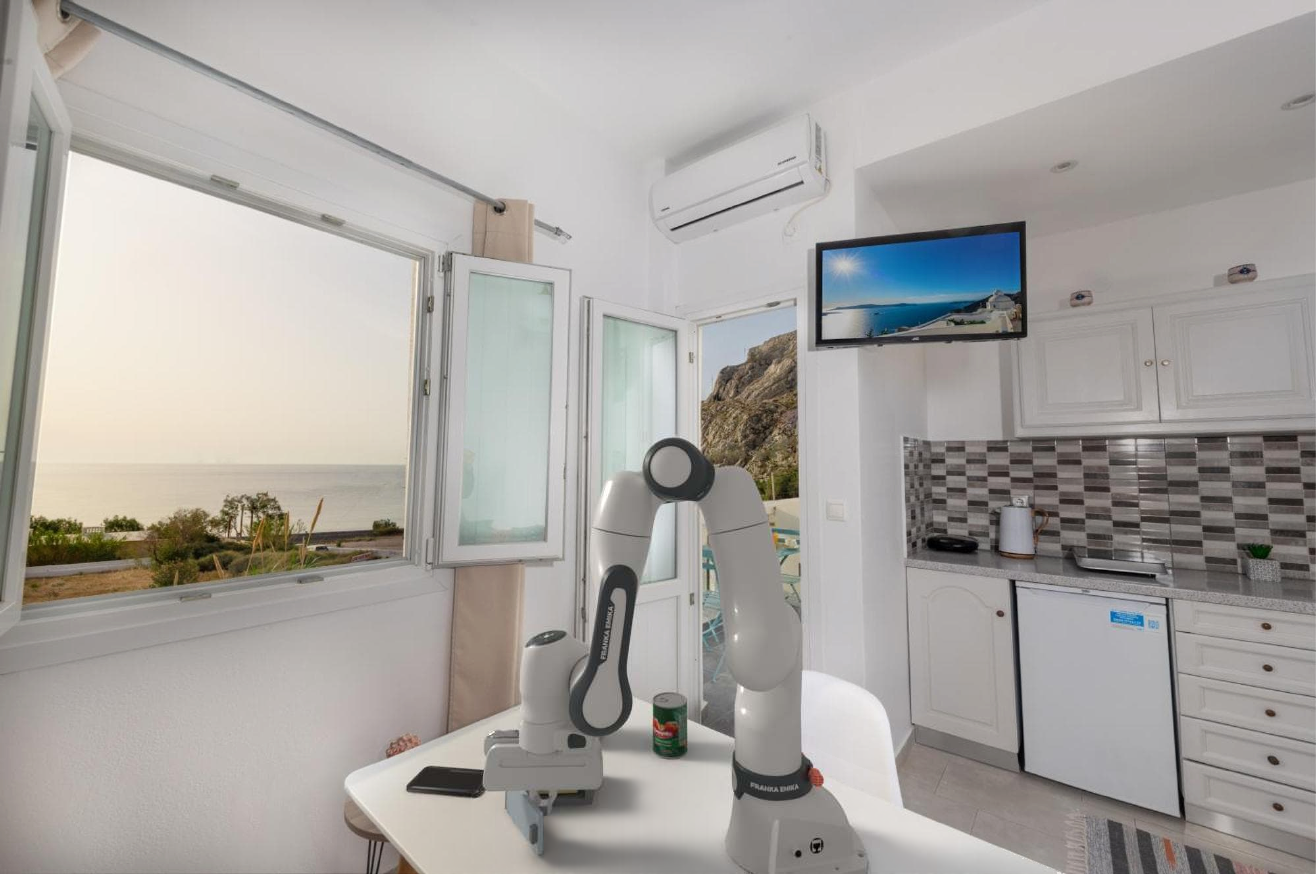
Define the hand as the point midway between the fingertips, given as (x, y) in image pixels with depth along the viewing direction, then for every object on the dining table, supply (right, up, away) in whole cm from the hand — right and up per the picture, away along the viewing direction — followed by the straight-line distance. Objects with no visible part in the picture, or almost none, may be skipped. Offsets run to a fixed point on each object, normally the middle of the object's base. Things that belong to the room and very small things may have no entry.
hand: (543, 813), depth 87 cm
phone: (-22, -5, +15) cm, 27 cm away
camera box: (-1, -5, +12) cm, 13 cm away
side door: (-4, -3, +1) cm, 5 cm away
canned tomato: (+22, -6, +28) cm, 36 cm away
